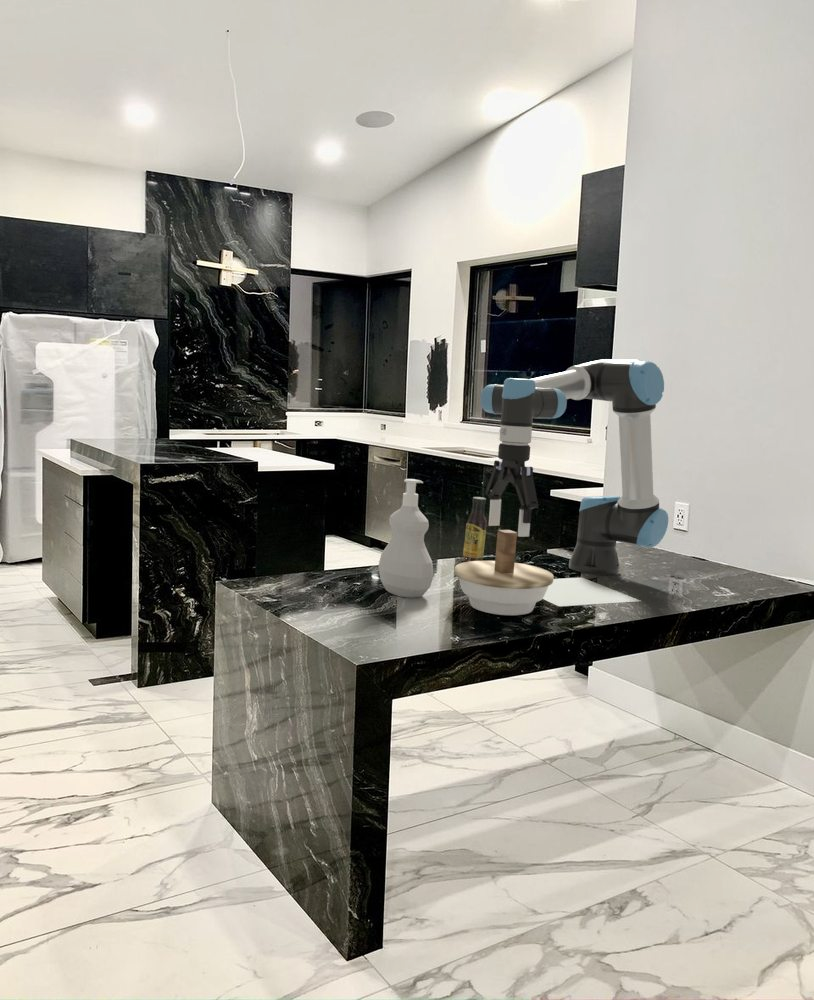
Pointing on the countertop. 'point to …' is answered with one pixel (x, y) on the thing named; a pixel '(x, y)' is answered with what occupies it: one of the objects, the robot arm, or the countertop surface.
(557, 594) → the mat
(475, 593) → the bowl
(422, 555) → the soap bottle
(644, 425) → the robot arm
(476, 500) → the sauce bottle
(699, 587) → the countertop surface
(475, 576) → the lid
